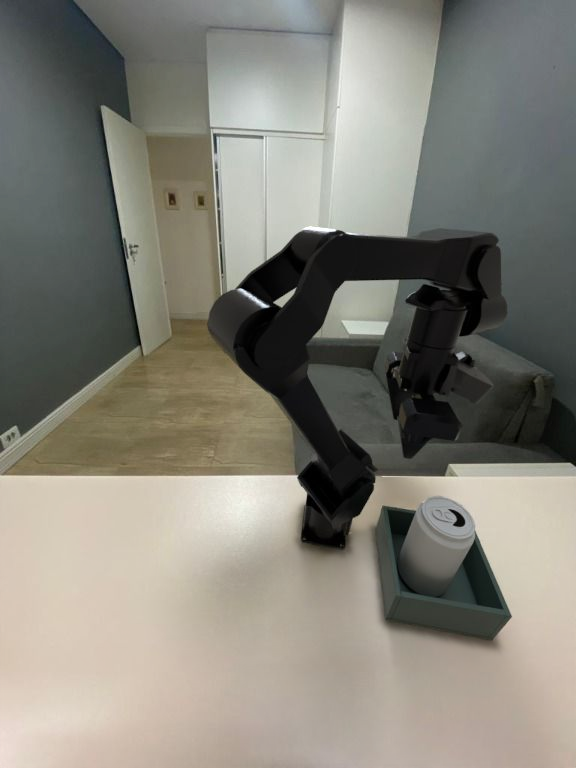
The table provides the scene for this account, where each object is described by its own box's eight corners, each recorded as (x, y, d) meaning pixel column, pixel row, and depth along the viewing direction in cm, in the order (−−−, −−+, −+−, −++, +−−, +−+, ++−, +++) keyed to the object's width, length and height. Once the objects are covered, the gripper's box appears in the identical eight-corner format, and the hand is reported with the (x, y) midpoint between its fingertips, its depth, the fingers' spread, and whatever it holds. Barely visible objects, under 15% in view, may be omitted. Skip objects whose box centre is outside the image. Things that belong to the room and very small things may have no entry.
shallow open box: (385, 619, 37) (395, 595, 34) (375, 529, 47) (382, 505, 45) (492, 640, 36) (512, 616, 33) (457, 542, 46) (470, 518, 43)
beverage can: (451, 606, 38) (488, 547, 32) (398, 593, 39) (424, 533, 33) (440, 556, 44) (469, 498, 38) (393, 546, 44) (415, 488, 39)
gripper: (540, 383, 30) (481, 494, 38) (470, 324, 46) (439, 410, 54) (423, 369, 31) (389, 480, 39) (394, 316, 47) (374, 401, 55)
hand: (401, 436), depth 47 cm, fingers open, 9 cm apart
